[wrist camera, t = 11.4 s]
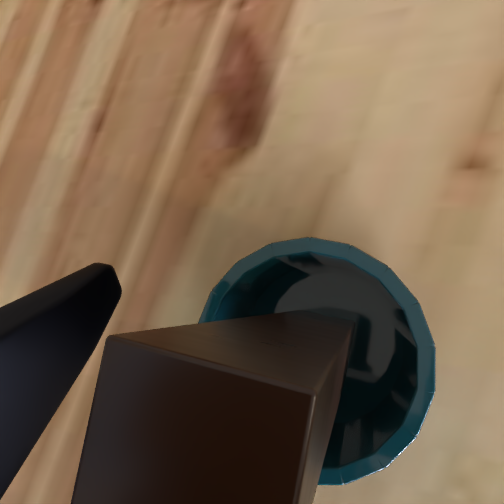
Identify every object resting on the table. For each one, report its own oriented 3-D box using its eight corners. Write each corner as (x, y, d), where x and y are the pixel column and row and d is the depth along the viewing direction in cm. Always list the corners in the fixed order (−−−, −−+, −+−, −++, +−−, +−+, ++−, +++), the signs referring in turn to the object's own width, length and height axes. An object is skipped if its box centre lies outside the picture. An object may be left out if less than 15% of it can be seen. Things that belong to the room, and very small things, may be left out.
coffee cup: (431, 428, 15) (460, 486, 10) (248, 434, 17) (203, 485, 12) (398, 243, 16) (412, 219, 12) (231, 268, 18) (183, 256, 14)
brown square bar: (345, 380, 16) (271, 660, 3) (288, 365, 17) (56, 556, 4) (355, 321, 16) (318, 391, 4) (298, 309, 17) (103, 333, 4)
